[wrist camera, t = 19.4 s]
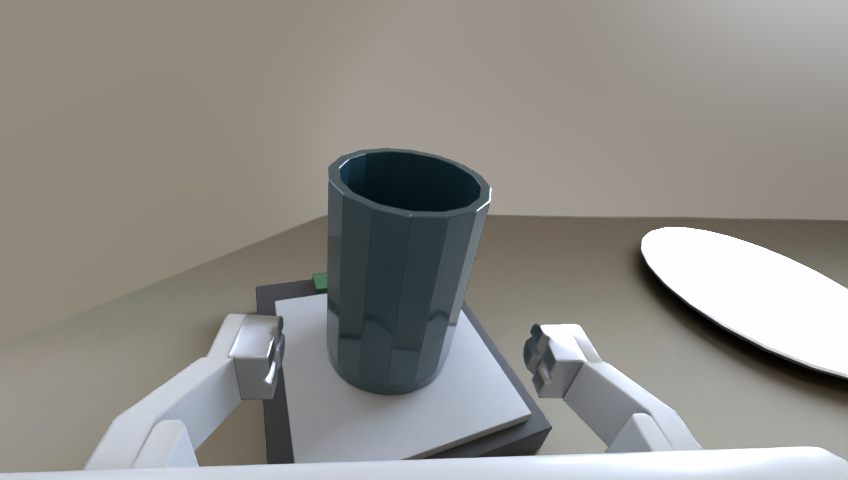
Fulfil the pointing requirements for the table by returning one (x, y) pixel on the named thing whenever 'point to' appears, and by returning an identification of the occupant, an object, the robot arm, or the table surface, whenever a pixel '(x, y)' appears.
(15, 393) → the table surface
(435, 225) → the cup
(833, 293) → the plate
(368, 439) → the scale
